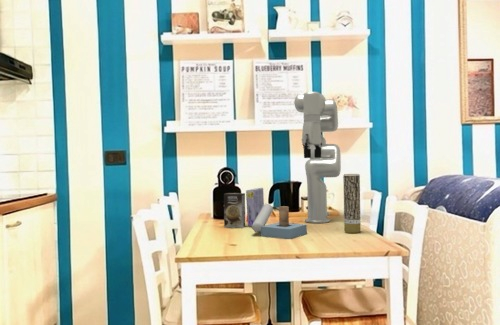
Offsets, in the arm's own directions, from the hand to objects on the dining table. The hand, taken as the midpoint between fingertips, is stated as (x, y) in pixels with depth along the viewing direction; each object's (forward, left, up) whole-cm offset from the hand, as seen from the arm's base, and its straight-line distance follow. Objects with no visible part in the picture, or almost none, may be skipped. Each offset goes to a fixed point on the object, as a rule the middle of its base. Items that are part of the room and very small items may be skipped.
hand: (312, 157), depth 207 cm
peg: (+19, -4, -32) cm, 38 cm away
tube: (+16, -18, -29) cm, 37 cm away
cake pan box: (0, -32, -33) cm, 46 cm away
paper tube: (-1, +18, -32) cm, 37 cm away
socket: (+19, -4, -32) cm, 38 cm away
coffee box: (+12, -36, -32) cm, 50 cm away
